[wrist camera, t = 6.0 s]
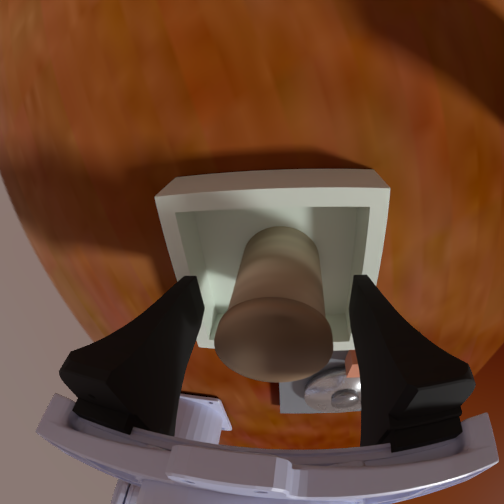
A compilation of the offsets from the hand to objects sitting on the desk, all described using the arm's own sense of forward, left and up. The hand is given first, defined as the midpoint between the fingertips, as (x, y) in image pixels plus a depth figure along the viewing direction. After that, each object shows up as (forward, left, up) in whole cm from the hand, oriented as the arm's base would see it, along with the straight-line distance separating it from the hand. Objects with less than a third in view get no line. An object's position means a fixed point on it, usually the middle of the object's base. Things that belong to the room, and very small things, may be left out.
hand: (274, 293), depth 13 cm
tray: (0, 0, -3) cm, 3 cm away
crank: (+6, -12, -2) cm, 14 cm away
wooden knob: (0, 0, -3) cm, 3 cm away
